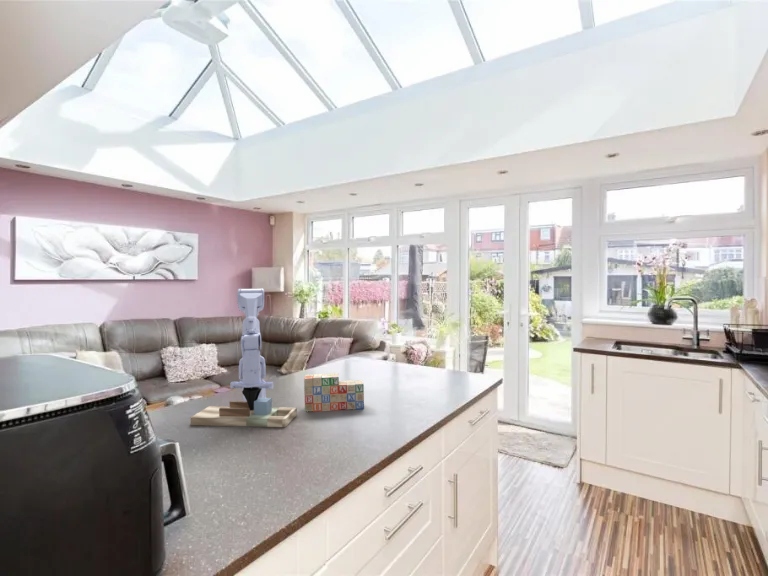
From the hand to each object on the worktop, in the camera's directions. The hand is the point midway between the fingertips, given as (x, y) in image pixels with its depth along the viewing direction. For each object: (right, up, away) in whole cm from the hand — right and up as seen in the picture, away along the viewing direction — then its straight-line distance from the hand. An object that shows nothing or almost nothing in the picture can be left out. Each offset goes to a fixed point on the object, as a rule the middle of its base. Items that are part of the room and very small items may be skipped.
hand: (252, 409), depth 139 cm
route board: (-3, -4, 0) cm, 4 cm away
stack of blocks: (+26, -3, +12) cm, 29 cm away
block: (+4, -1, 0) cm, 4 cm away
